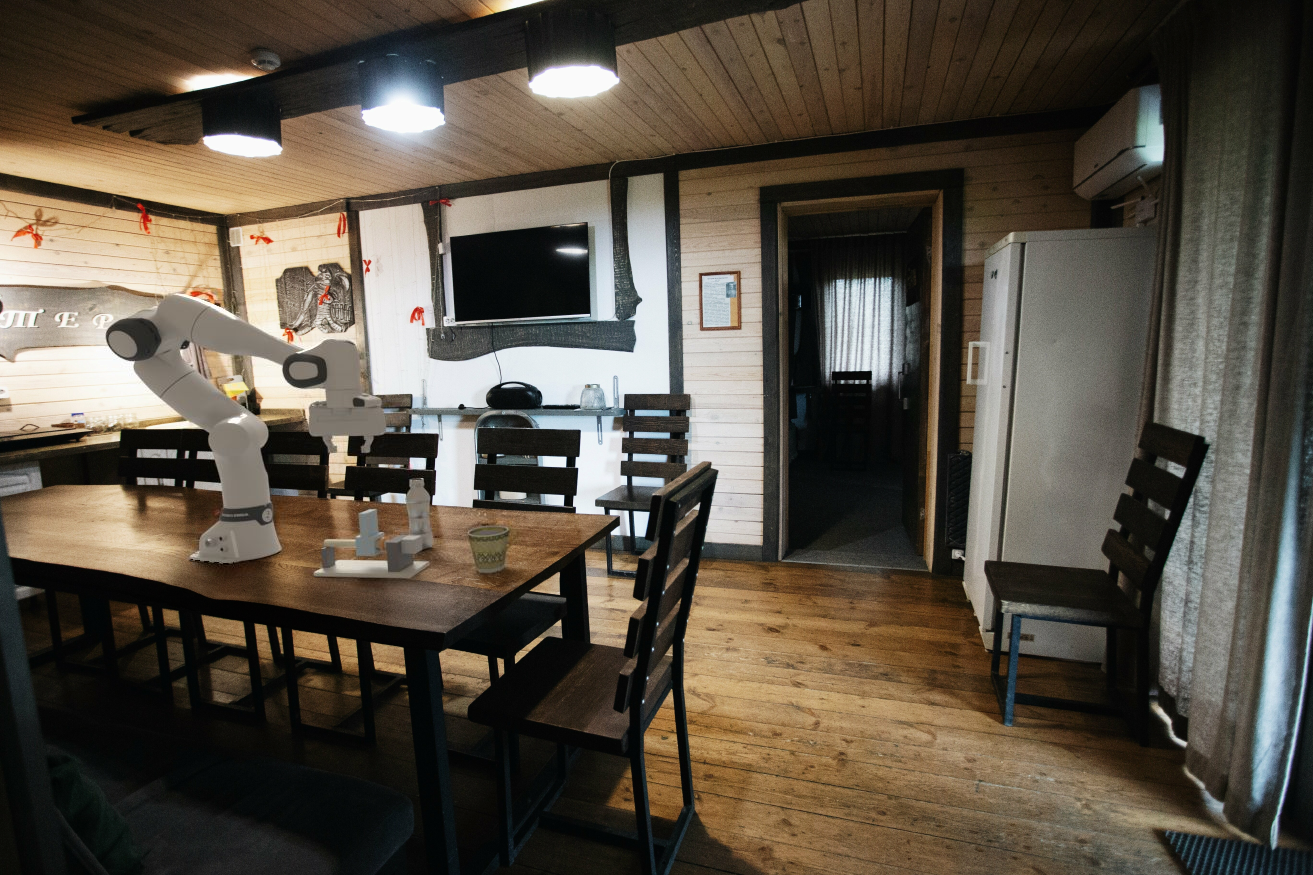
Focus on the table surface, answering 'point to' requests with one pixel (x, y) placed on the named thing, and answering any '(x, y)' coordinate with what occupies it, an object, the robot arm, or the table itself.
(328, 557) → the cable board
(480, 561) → the ceramic cup
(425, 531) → the plastic bottle
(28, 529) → the table surface
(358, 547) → the pale blue stacked blocks
